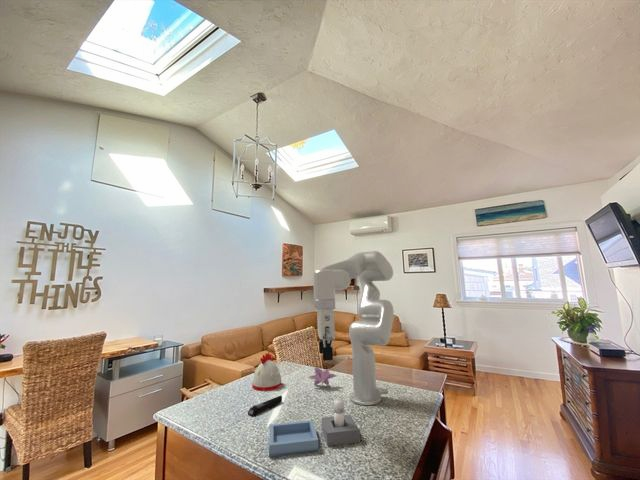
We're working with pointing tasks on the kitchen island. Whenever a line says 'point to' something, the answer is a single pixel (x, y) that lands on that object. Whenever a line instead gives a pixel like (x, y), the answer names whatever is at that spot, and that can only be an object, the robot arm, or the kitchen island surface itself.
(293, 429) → the parts tray
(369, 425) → the kitchen island surface
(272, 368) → the knit hat
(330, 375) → the lily
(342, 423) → the white rounded cylinder piece
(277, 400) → the electric trimmer
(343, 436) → the gray square hole block
